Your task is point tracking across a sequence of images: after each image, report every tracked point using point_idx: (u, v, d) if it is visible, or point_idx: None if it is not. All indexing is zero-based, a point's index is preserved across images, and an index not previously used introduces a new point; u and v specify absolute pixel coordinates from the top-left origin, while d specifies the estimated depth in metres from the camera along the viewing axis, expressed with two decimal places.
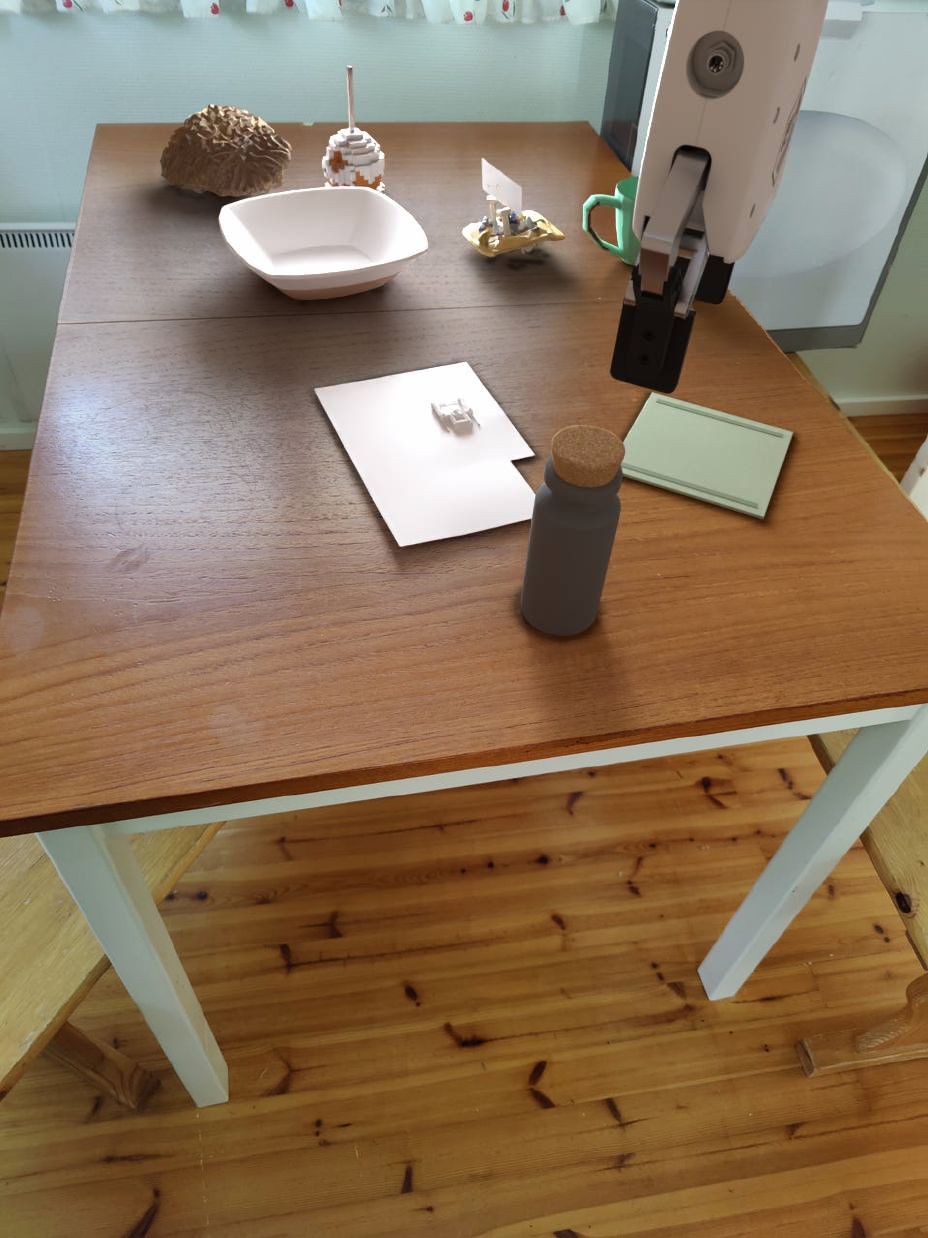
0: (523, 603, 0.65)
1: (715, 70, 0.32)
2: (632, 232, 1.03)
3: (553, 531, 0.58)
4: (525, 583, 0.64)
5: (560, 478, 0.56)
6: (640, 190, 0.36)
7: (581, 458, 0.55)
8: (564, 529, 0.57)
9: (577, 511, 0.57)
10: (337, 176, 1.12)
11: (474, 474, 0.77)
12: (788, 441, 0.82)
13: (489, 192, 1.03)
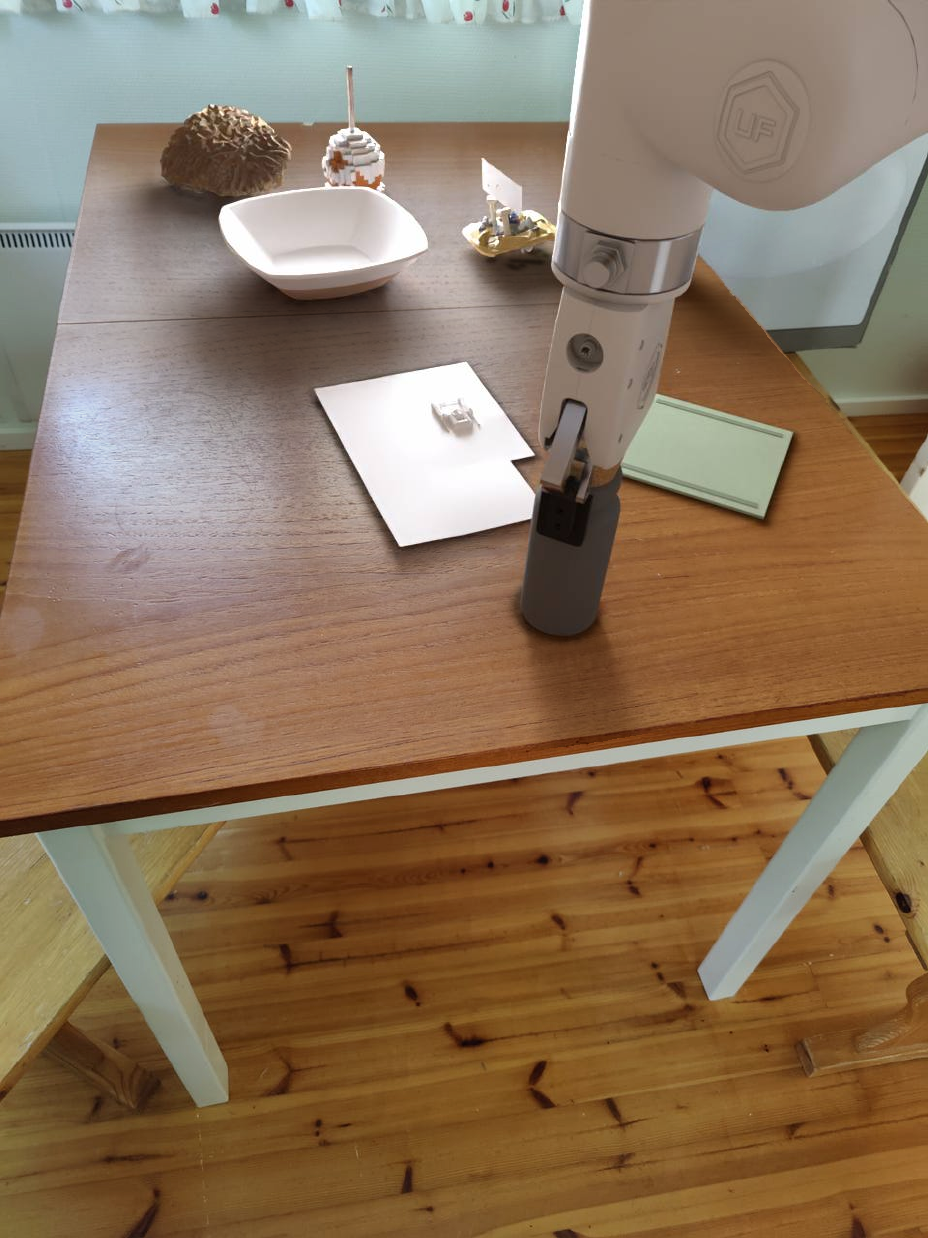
0: (523, 603, 0.65)
1: (586, 355, 0.46)
2: None
3: None
4: (525, 583, 0.64)
5: None
6: (541, 420, 0.50)
7: None
8: None
9: None
10: (337, 176, 1.12)
11: (474, 474, 0.77)
12: (788, 441, 0.82)
13: (489, 192, 1.03)
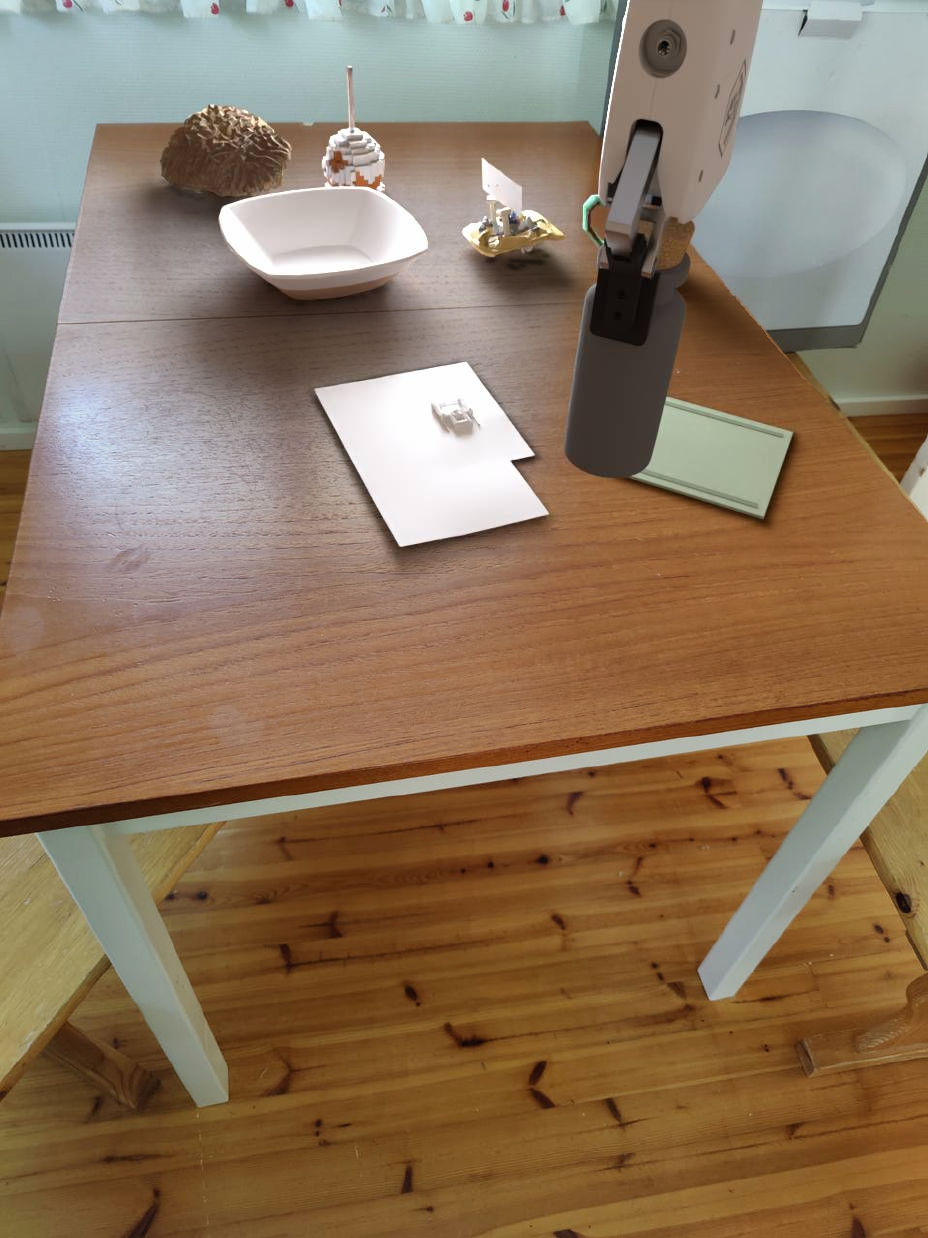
0: (568, 442, 0.56)
1: (663, 53, 0.38)
2: None
3: None
4: (571, 415, 0.55)
5: None
6: (603, 160, 0.41)
7: (644, 231, 0.46)
8: None
9: None
10: (337, 176, 1.12)
11: (474, 474, 0.77)
12: (788, 441, 0.82)
13: (489, 192, 1.03)
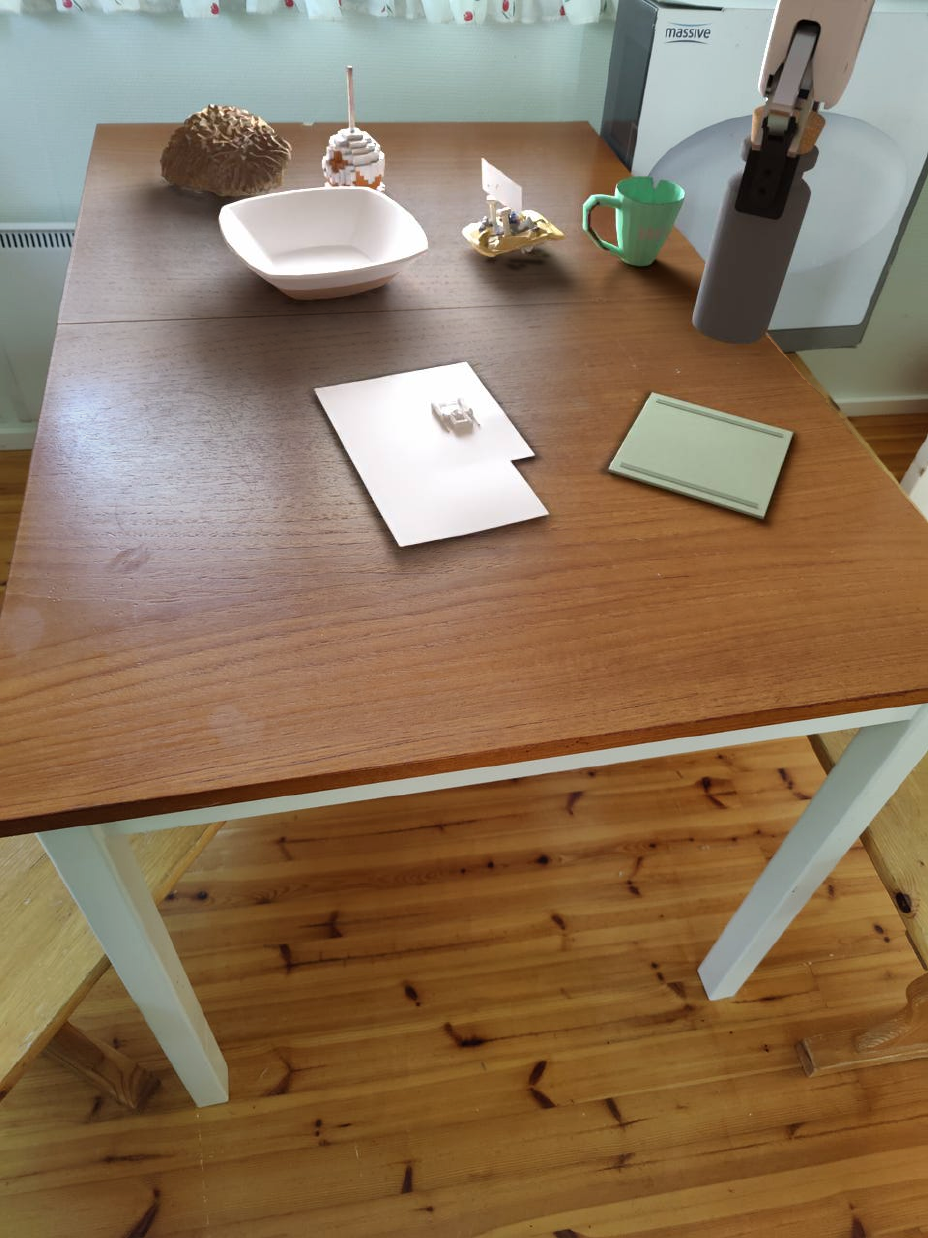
0: (699, 314, 0.67)
1: None
2: (632, 232, 1.03)
3: None
4: (704, 289, 0.66)
5: None
6: (767, 55, 0.52)
7: None
8: None
9: None
10: (337, 176, 1.12)
11: (474, 474, 0.77)
12: (788, 441, 0.82)
13: (489, 192, 1.03)
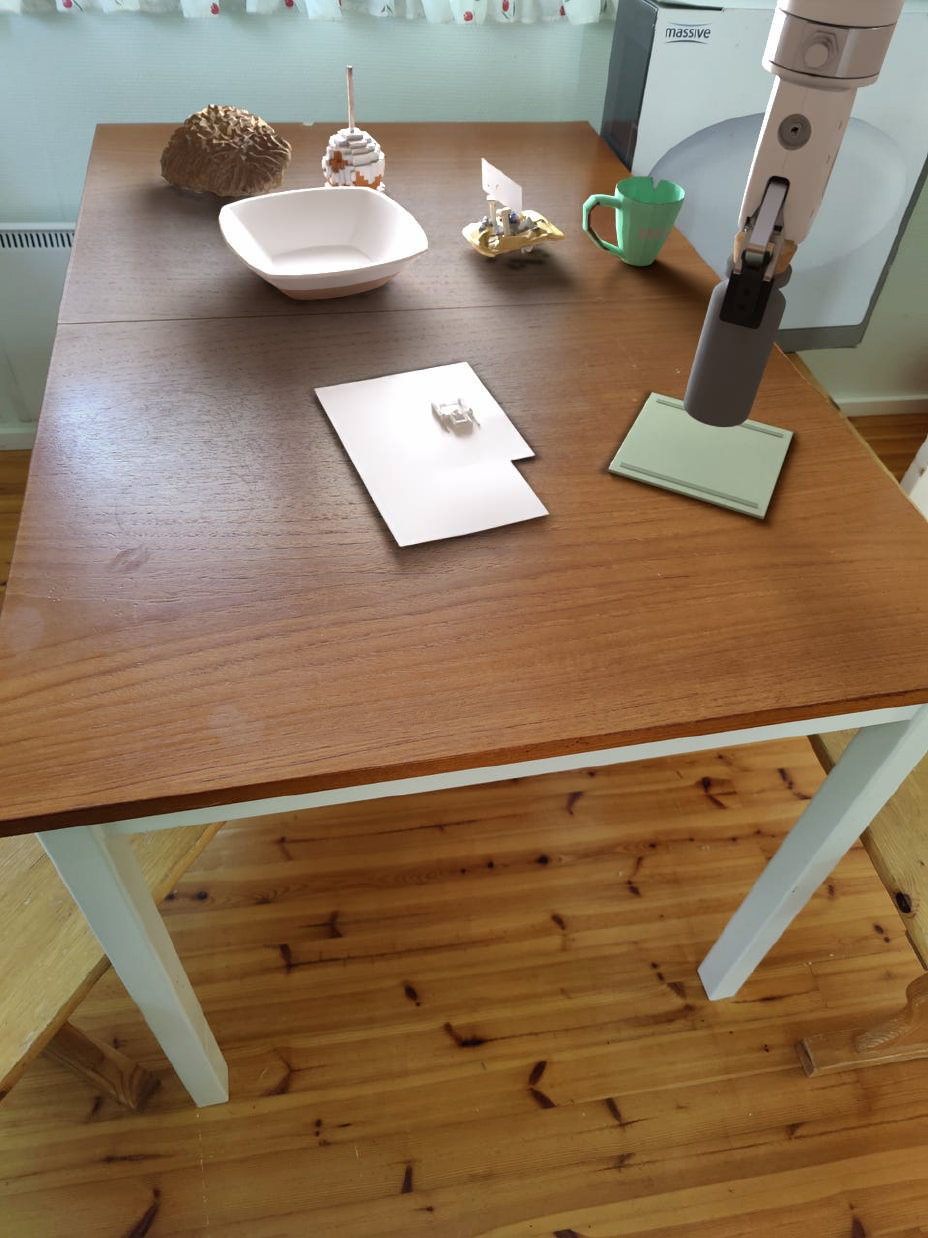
0: (689, 400, 0.76)
1: (794, 134, 0.57)
2: (632, 232, 1.03)
3: None
4: (693, 380, 0.75)
5: None
6: (745, 201, 0.61)
7: None
8: None
9: None
10: (337, 176, 1.12)
11: (474, 474, 0.77)
12: (788, 441, 0.82)
13: (489, 192, 1.03)
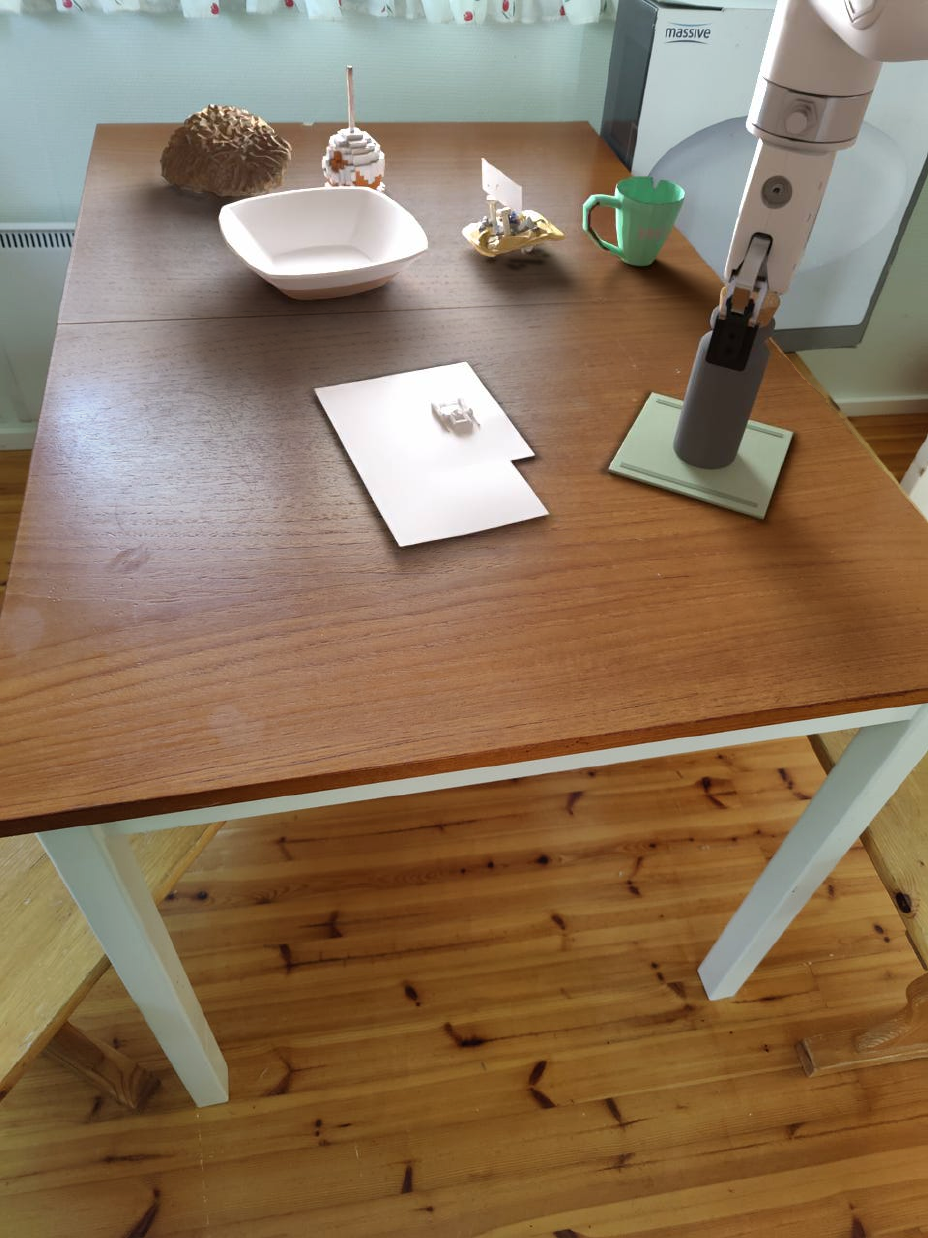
0: (678, 443, 0.79)
1: (776, 194, 0.60)
2: (632, 232, 1.03)
3: (718, 368, 0.72)
4: (682, 423, 0.78)
5: None
6: (730, 255, 0.64)
7: None
8: None
9: None
10: (337, 176, 1.12)
11: (474, 474, 0.77)
12: (788, 441, 0.82)
13: (489, 192, 1.03)
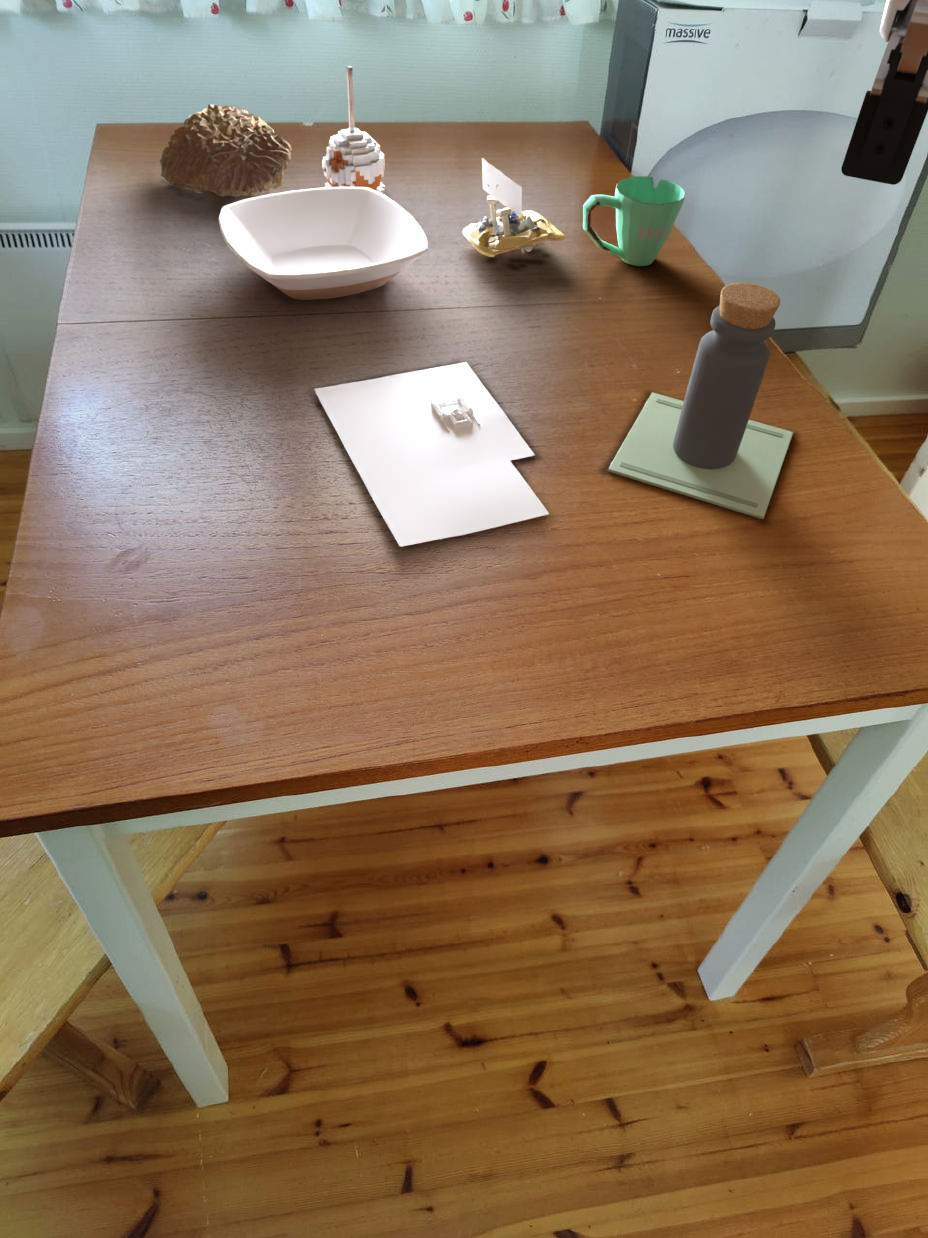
0: (678, 443, 0.79)
1: None
2: (632, 232, 1.03)
3: (718, 368, 0.72)
4: (682, 423, 0.78)
5: (727, 322, 0.70)
6: None
7: (747, 303, 0.69)
8: (727, 366, 0.72)
9: (738, 351, 0.71)
10: (337, 176, 1.12)
11: (474, 474, 0.77)
12: (788, 441, 0.82)
13: (489, 192, 1.03)
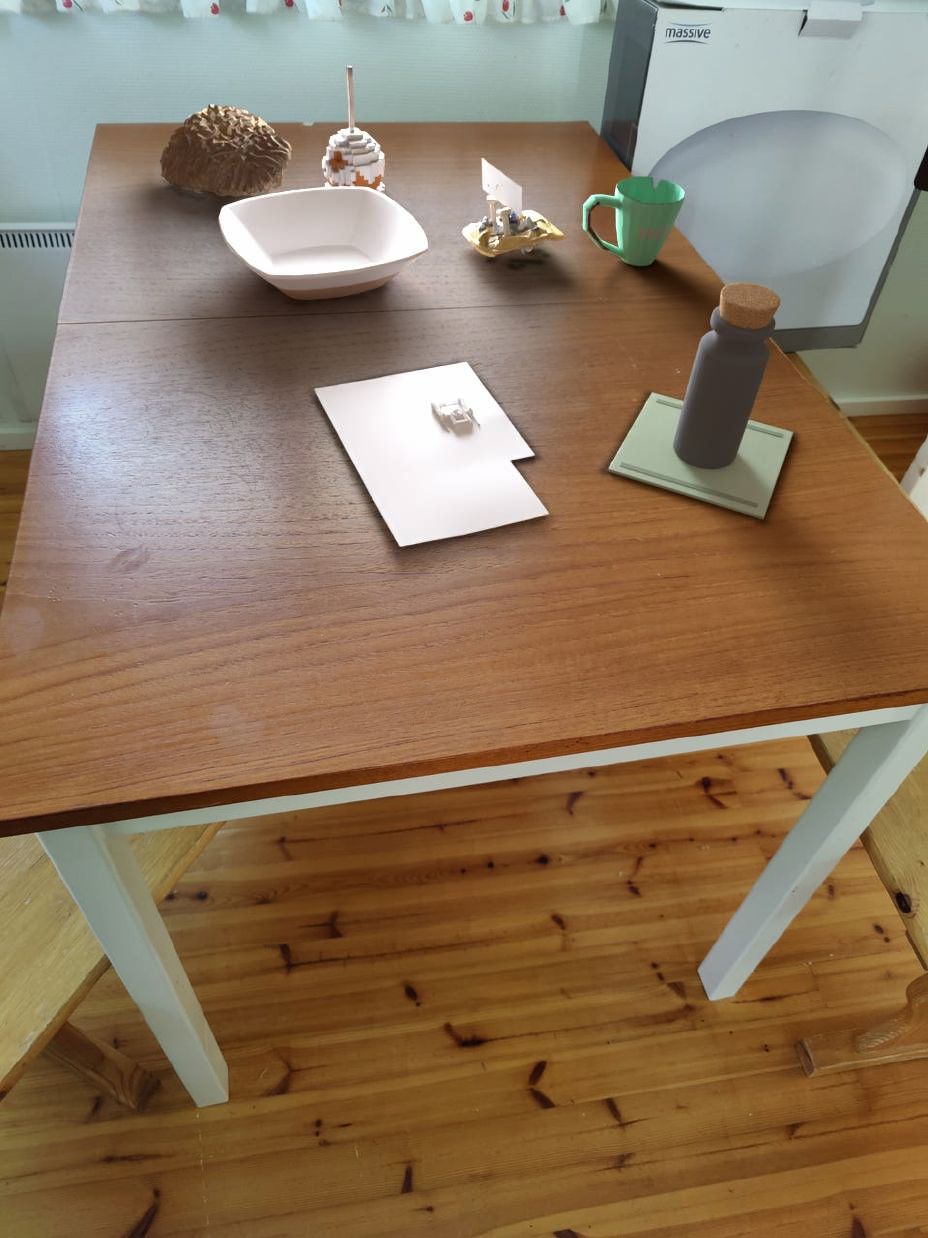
0: (678, 443, 0.79)
1: None
2: (632, 232, 1.03)
3: (718, 368, 0.72)
4: (682, 424, 0.78)
5: (727, 322, 0.70)
6: None
7: (747, 304, 0.69)
8: (727, 366, 0.72)
9: (738, 351, 0.71)
10: (337, 176, 1.12)
11: (474, 474, 0.77)
12: (788, 441, 0.82)
13: (489, 192, 1.03)
